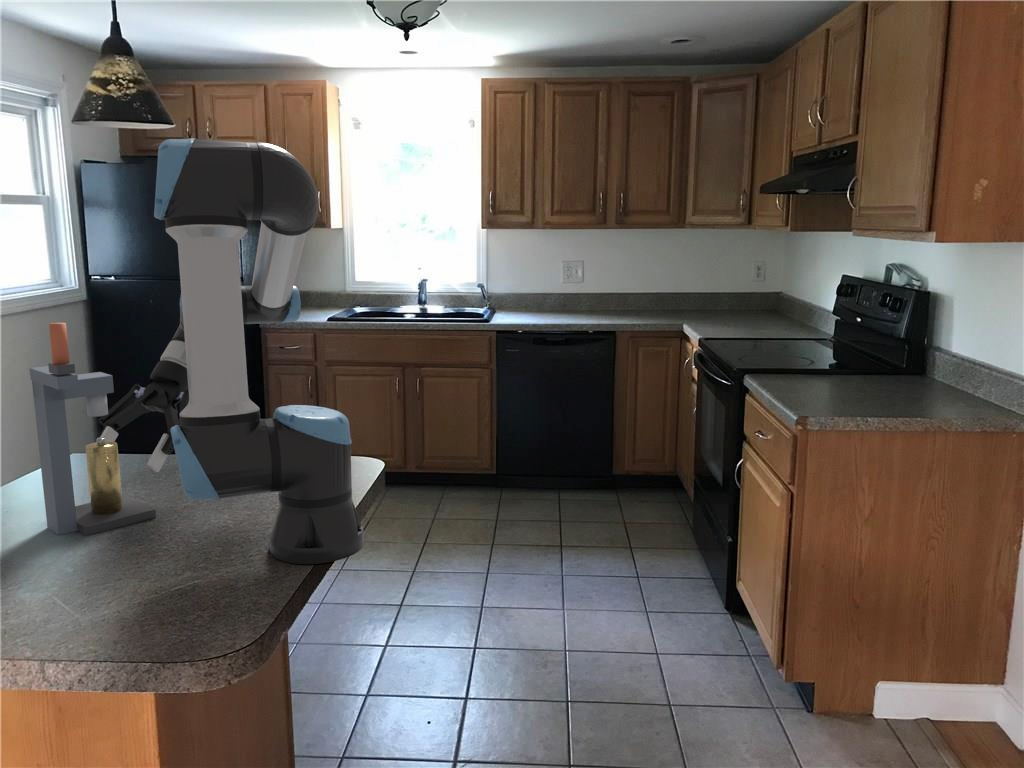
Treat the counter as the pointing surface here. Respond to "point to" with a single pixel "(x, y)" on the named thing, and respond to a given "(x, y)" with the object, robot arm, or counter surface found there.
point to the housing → (104, 477)
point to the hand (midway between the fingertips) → (123, 464)
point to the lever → (60, 350)
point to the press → (57, 454)
